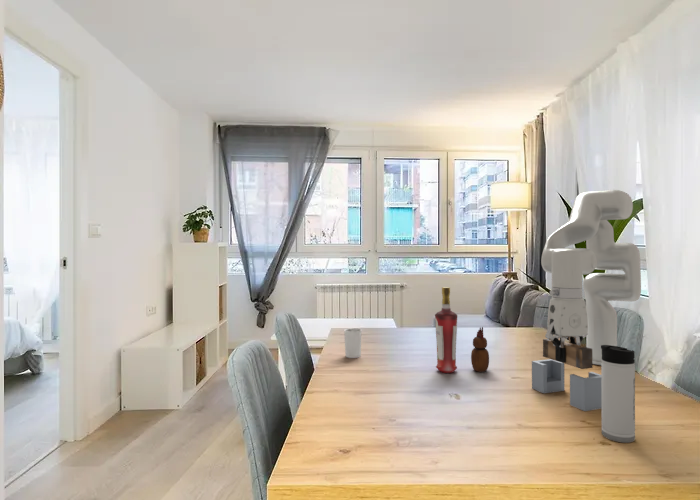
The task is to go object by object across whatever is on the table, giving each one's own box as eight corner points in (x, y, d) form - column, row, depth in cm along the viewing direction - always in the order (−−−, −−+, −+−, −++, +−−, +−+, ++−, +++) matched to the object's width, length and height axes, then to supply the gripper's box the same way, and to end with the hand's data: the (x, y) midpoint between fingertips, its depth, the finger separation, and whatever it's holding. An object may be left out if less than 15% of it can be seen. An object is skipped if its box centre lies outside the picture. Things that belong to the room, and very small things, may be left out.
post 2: (584, 411, 112) (584, 379, 112) (569, 404, 116) (569, 374, 116) (607, 407, 114) (607, 376, 114) (592, 401, 119) (591, 371, 119)
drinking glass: (362, 354, 173) (362, 328, 173) (361, 358, 166) (360, 331, 166) (345, 353, 174) (345, 328, 173) (343, 358, 167) (343, 331, 167)
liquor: (433, 368, 152) (433, 286, 152) (455, 368, 152) (454, 286, 152) (437, 374, 145) (436, 288, 145) (459, 374, 145) (459, 288, 144)
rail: (552, 355, 129) (552, 338, 129) (592, 368, 116) (592, 348, 116) (543, 356, 128) (543, 339, 128) (582, 369, 115) (582, 349, 115)
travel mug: (593, 431, 100) (593, 342, 100) (621, 430, 100) (621, 342, 100) (612, 443, 94) (612, 349, 93) (642, 442, 94) (641, 348, 94)
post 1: (552, 385, 132) (552, 358, 132) (564, 390, 128) (564, 362, 128) (531, 388, 130) (531, 361, 130) (543, 393, 126) (543, 365, 125)
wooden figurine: (490, 373, 145) (489, 328, 145) (471, 372, 146) (471, 327, 146) (488, 368, 152) (487, 324, 152) (470, 367, 153) (470, 323, 153)
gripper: (552, 296, 116) (552, 366, 116) (601, 294, 121) (601, 361, 121) (532, 293, 123) (532, 360, 123) (579, 291, 128) (579, 355, 128)
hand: (566, 360), depth 122 cm, fingers closed on rail, 3 cm apart
